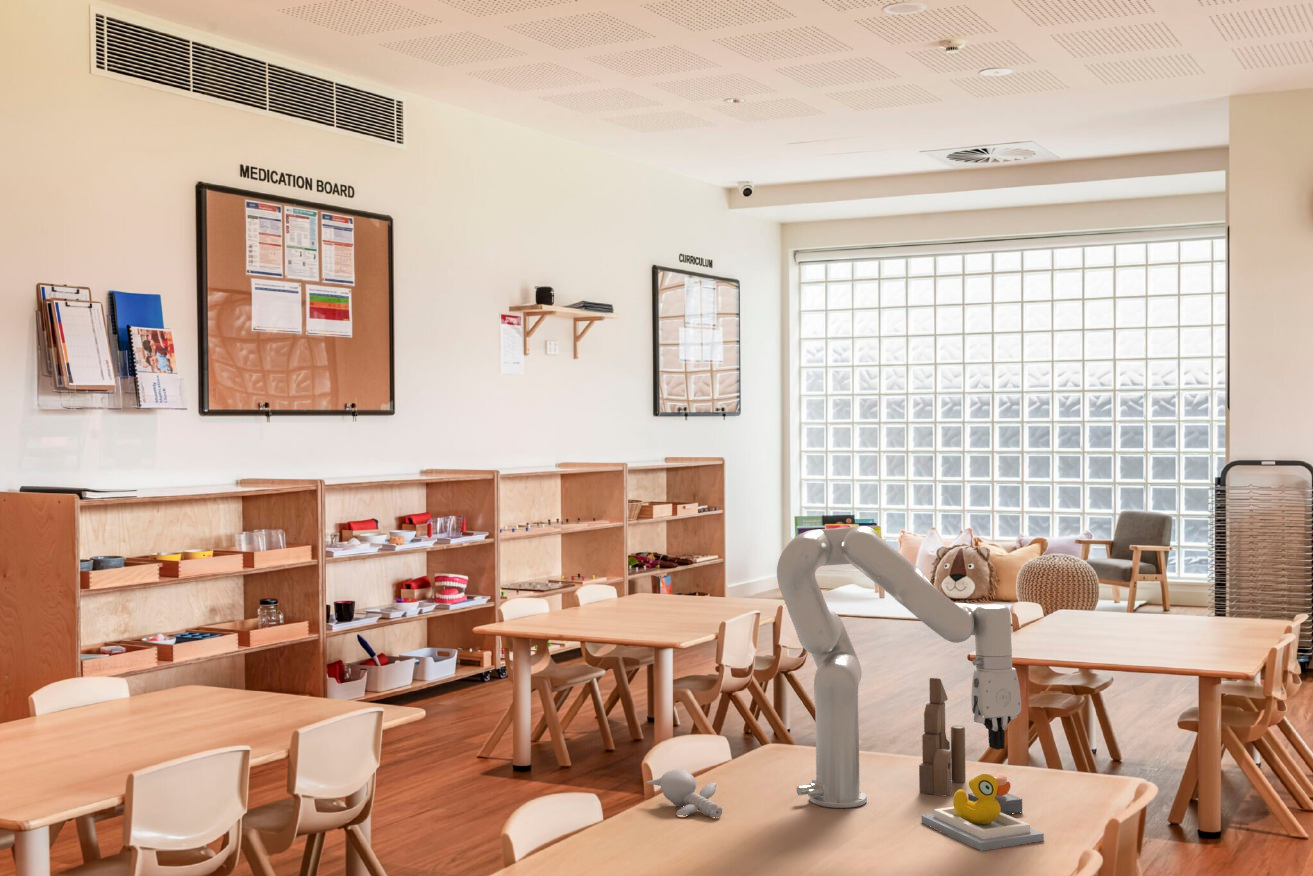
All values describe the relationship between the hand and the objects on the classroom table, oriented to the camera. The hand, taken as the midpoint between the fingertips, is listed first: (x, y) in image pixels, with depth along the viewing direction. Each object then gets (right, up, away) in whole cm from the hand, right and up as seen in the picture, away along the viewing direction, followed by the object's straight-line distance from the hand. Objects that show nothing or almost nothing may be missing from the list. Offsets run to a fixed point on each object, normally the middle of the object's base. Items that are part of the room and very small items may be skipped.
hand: (996, 747), depth 266 cm
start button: (0, -9, 0) cm, 9 cm away
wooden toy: (-7, -14, +19) cm, 24 cm away
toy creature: (-67, -14, +3) cm, 69 cm away
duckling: (-7, -12, -14) cm, 20 cm away
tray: (-7, -13, -15) cm, 21 cm away
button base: (0, -13, 0) cm, 13 cm away
